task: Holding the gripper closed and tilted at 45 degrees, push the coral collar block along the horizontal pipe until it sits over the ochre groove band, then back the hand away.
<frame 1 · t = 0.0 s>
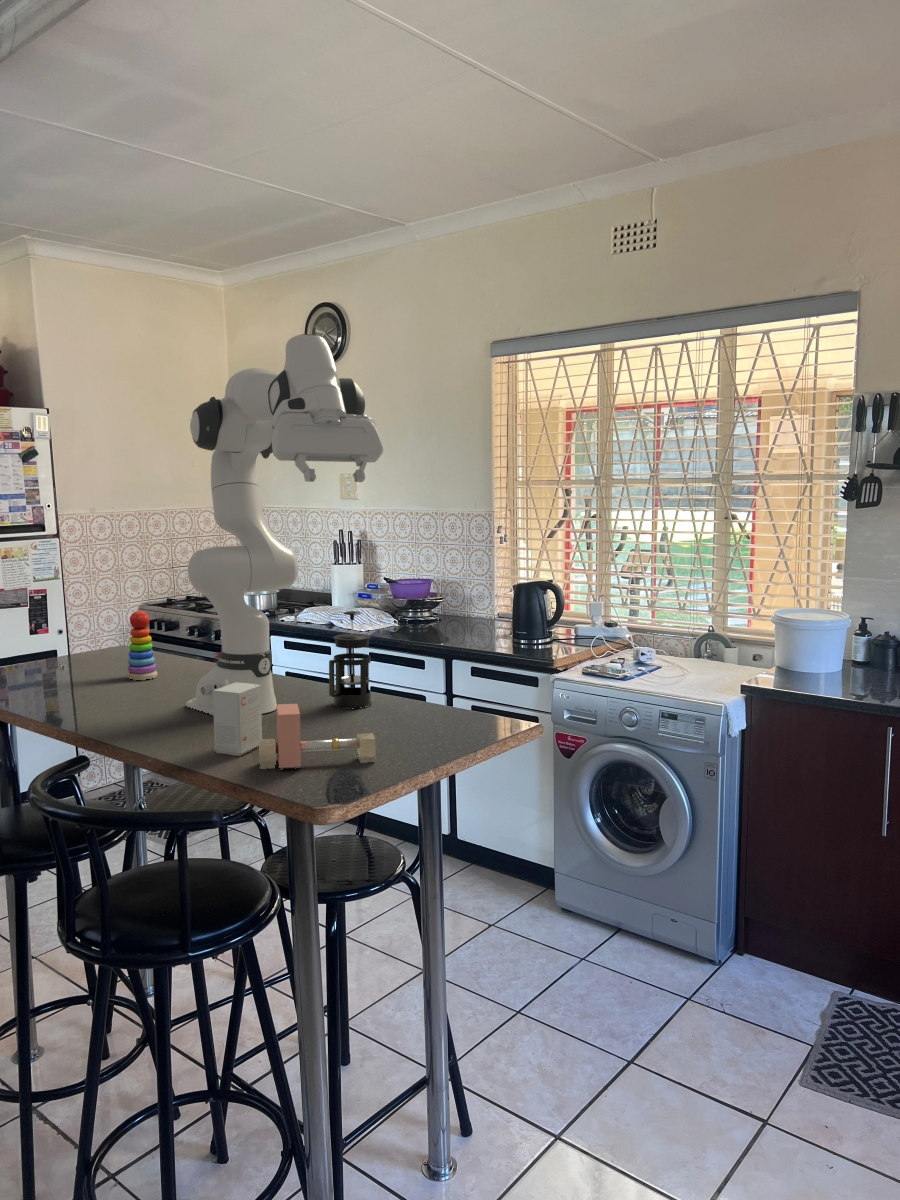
hand: (335, 480, 160), 54 cm above the table, tool tilted 30°, fingers open, 8 cm apart
pipe rig: (317, 763, 174), on the table
small box: (238, 750, 183), on the table
stacking toy: (142, 678, 248), on the table
french press: (350, 705, 220), on the table
collar: (288, 735, 172), point 6 cm above the table, slide at 0.0 cm
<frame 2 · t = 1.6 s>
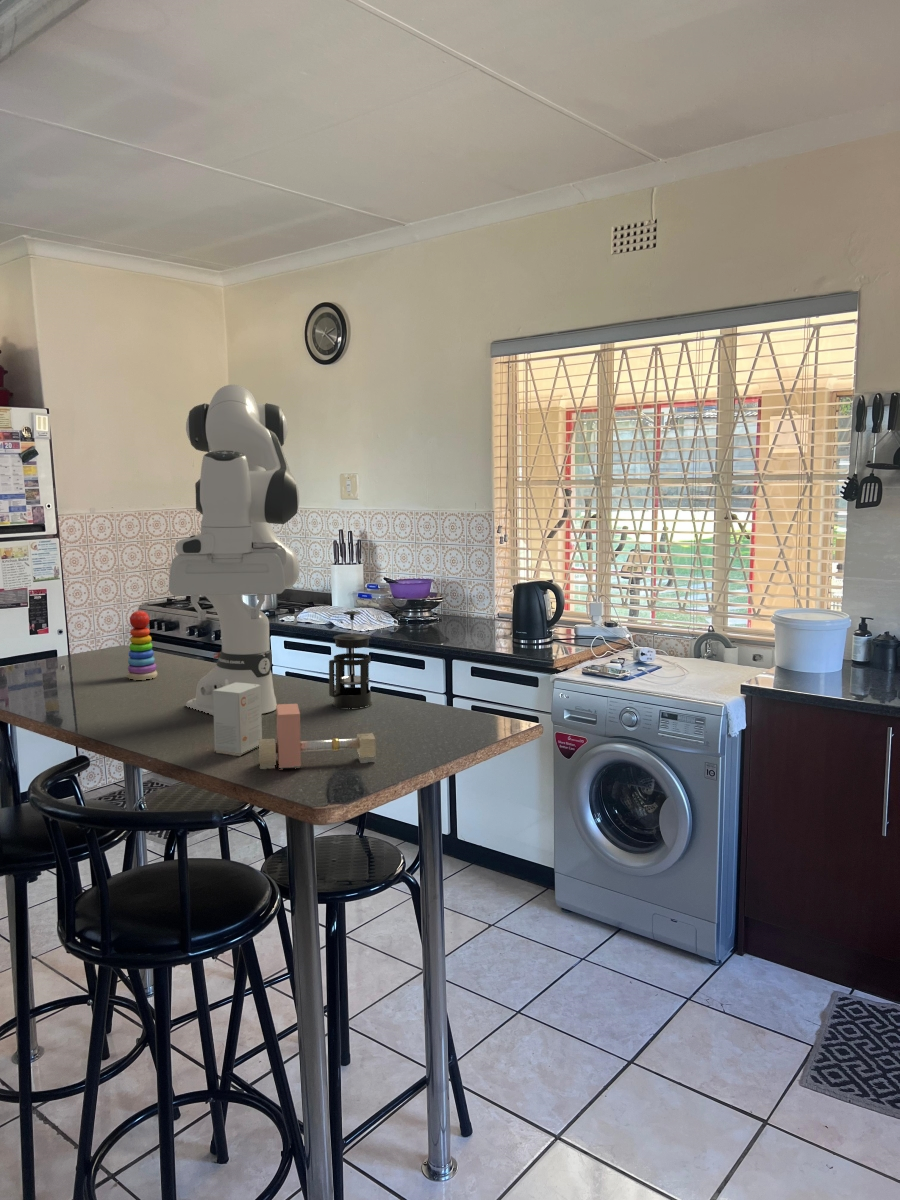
hand: (228, 619, 162), 29 cm above the table, tool pointing down, fingers open, 8 cm apart
nothing on the table moved.
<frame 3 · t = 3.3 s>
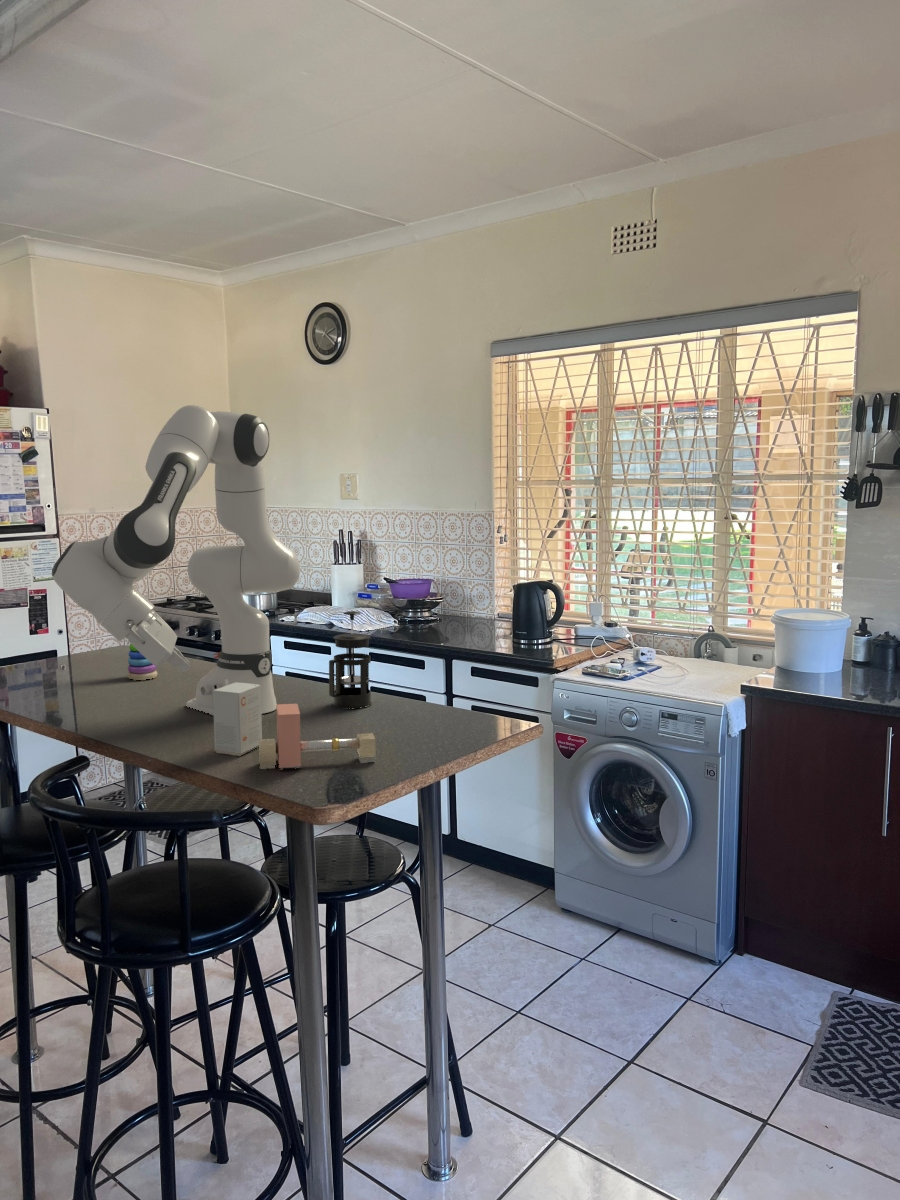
hand: (187, 668, 166), 20 cm above the table, tool tilted 45°, fingers closed
nothing on the table moved.
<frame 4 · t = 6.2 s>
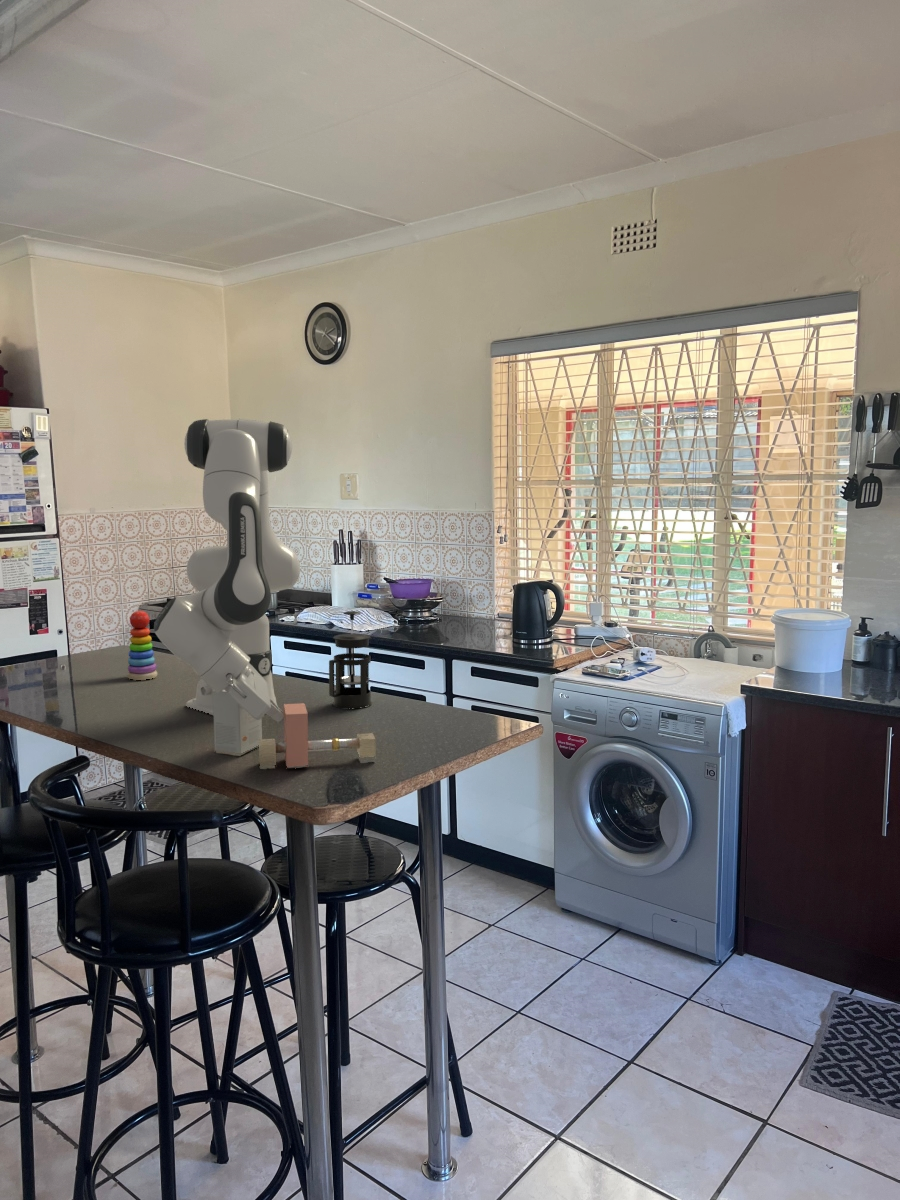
hand: (281, 718, 172), 9 cm above the table, tool tilted 45°, fingers closed, pressing on collar
collar: (295, 735, 173), point 6 cm above the table, slide at 1.4 cm, touching gripper
everything else where it was.
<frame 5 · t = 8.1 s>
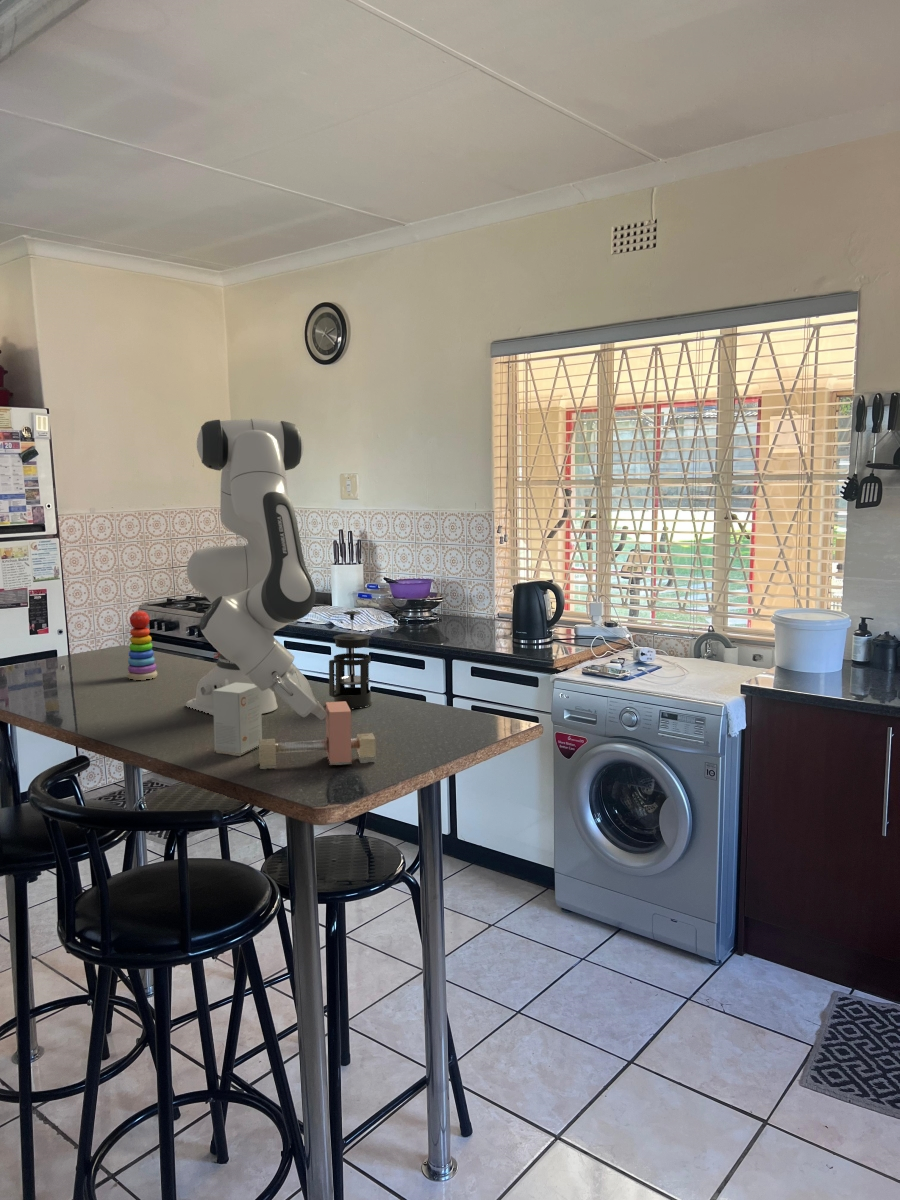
hand: (324, 715, 173), 9 cm above the table, tool tilted 45°, fingers closed, pressing on collar
collar: (338, 733, 174), point 6 cm above the table, slide at 9.5 cm, touching gripper
everything else where it was.
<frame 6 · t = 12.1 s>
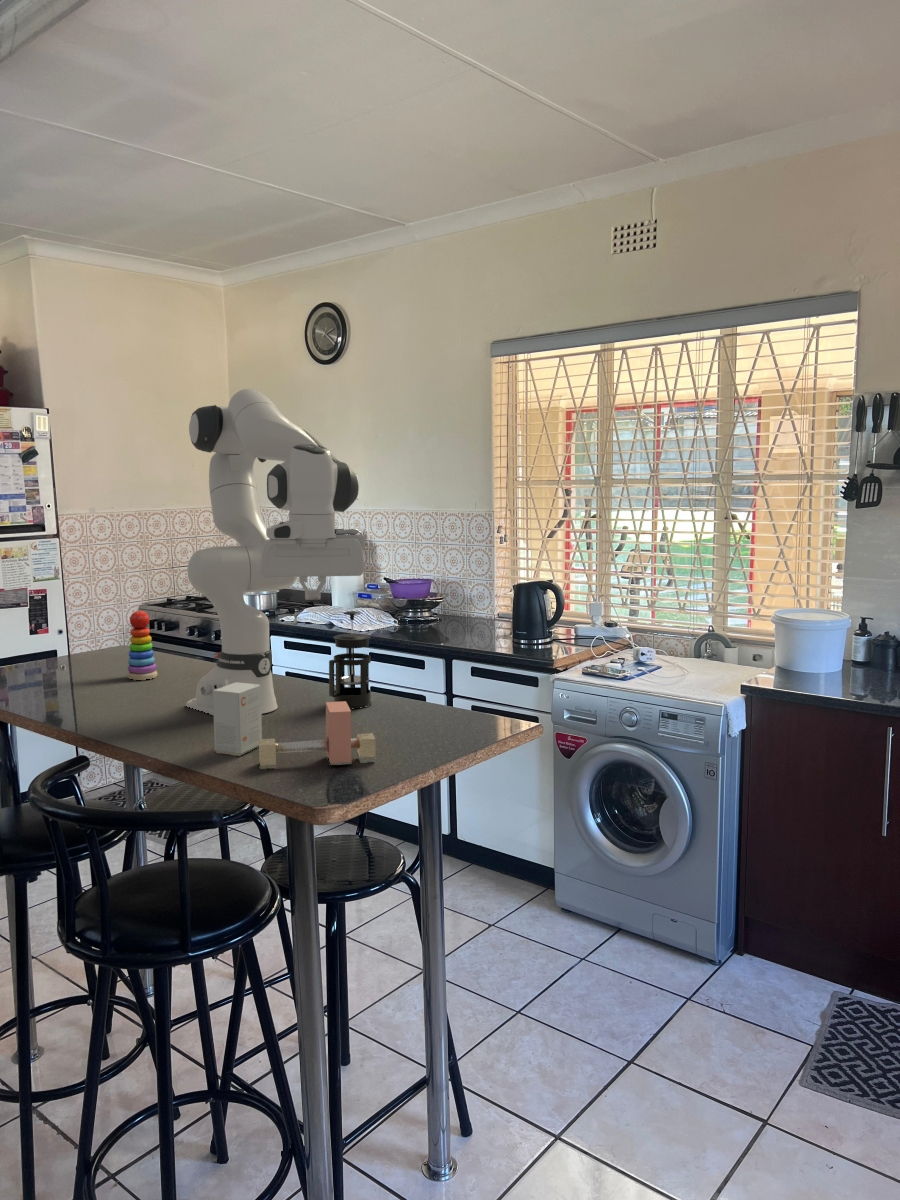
hand: (312, 599, 177), 31 cm above the table, tool pointing down, fingers closed
collar: (338, 733, 174), point 6 cm above the table, slide at 9.6 cm
everything else where it was.
at the end: collar slide at 9.6 cm; collar moved 9.6 cm from its start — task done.
